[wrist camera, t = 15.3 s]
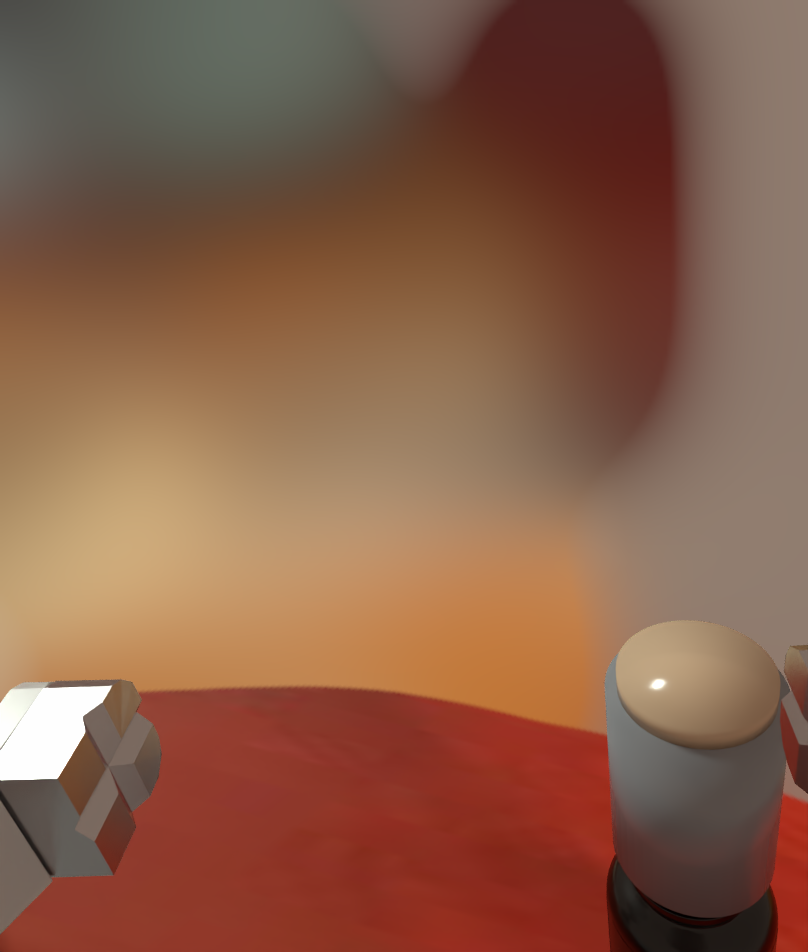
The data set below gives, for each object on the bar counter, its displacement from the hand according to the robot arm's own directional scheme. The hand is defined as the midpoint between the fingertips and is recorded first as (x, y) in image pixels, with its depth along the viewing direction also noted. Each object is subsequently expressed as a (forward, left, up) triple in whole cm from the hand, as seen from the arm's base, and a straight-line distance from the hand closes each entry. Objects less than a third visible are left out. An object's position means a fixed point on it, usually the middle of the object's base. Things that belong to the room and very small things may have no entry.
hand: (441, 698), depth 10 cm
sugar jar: (+6, +13, -22) cm, 26 cm away
